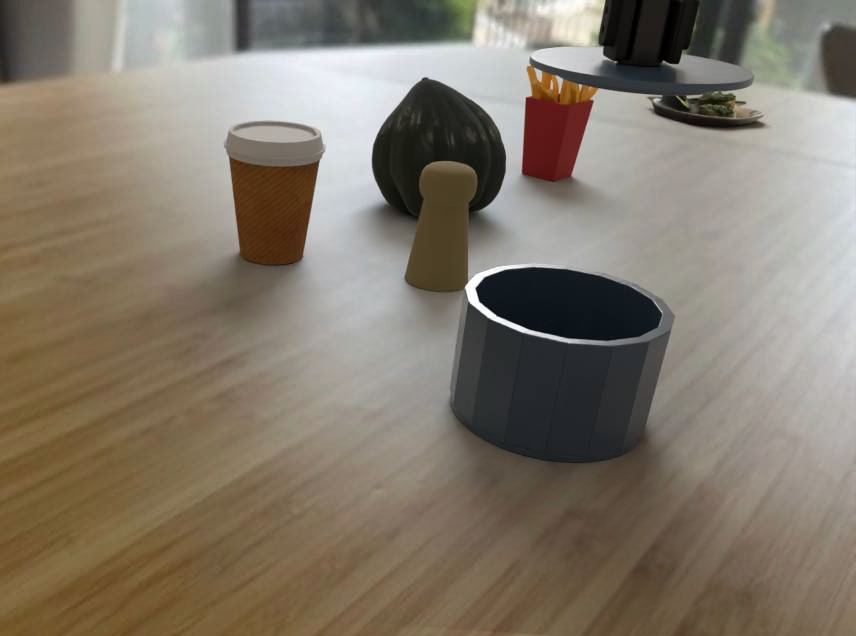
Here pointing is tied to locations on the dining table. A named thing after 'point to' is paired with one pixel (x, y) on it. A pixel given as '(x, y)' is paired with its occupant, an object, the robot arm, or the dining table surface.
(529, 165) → the french fries
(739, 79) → the tin lid
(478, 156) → the squash
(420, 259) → the cork
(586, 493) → the dining table surface
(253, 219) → the disposable coffee cup
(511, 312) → the tin
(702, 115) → the salad plate
